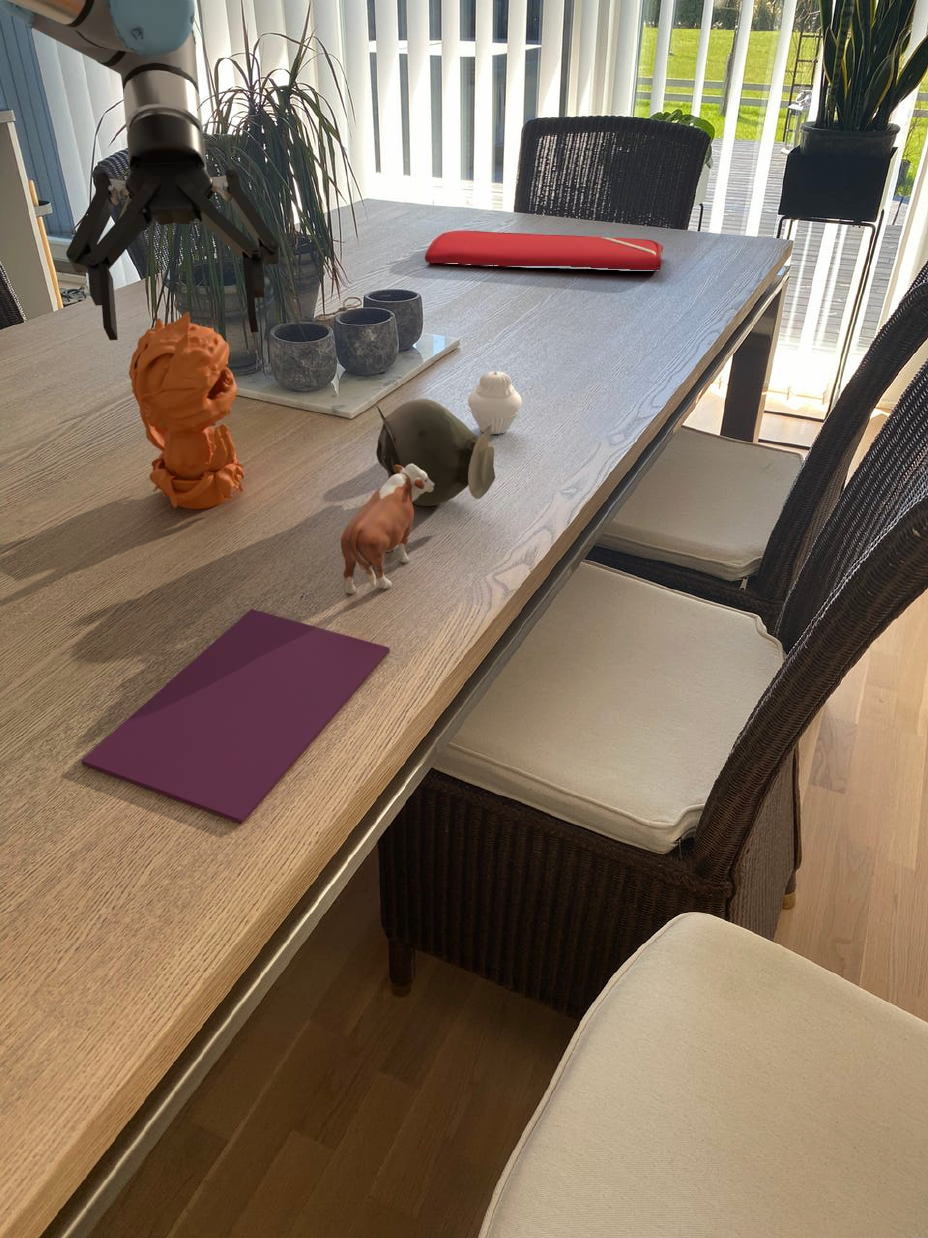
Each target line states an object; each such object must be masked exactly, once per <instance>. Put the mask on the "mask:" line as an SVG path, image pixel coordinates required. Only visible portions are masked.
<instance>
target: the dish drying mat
mask: <svg viewBox="0 0 928 1238" xmlns="http://www.w3.org/2000/svg"><path fill="white" fill-rule="evenodd" d="M663 250H664V245H663V244H660V243H659V242H657V241H656V240H652V239H645V238H629V237H607V236H606V237H605V236H589V235H569V234H567V235H566V234H542V233H541V234H540V233H522V232H521V233H519V232H496V231H480V230H453V231H446V232H443V233H441V234H440V235H438V236H437V237H436V238H435V239H434V240H432V241H431V243H430V245H429V247H428V248H427V250H426V252H425V255H424V261H425V263H427V262H431V263H430V264H434V263H458V264H471V265H493V266H494V265H498V266H571V267H591V268H608V269H630V270H660V271H661V266H662V258H661V252H662V253H663Z"/></svg>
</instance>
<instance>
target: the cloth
mask: <svg viewBox="0 0 928 1238" xmlns="http://www.w3.org/2000/svg"><path fill="white" fill-rule="evenodd" d="M390 651H391V650H390V647H389V646H385V645H381V644H379V643H378V644H377V643H374V642H371V641H367V640H364V639H361V638H357V637H354V636H351V635H346V634H342V633H340V632H336V631H331V630H328V629H324V628H321V627H317V626H314V625H311V624H307V623H304V622H300V621H296V620H293V619H290V618H285V617H283V616H278V615H276V614H272V613H268V612H265V611H261V610H257V609H254V608H250V609H249V610H248V611H247V612H246V613H245V614H244V615H243V616H242V617H241V618H240V619H238V620H237V621H236V622H235V623H233V624H232V626H230V627H229V628H228V629H227V630H226V631H225V632H223V634H222V635H220V636H219V637H218V638H217V639H216V640H215V641H213V642H212V643H211V644H210V645H209V646H208V647H207V648H206V649H205V650H204V651H202V652H201V653H200V654H199V655H198V656H197V657H195V658H194V659H193V660H192V661H191V662H189V664H188V665H187V666H185V667H184V668H183V669H182V670H181V671H180V672H179V673H178V674H176V676H174V677H173V678H172V679H171V680H170V681H168V682H167V684H165V685H164V686H163V687H161V689H160V690H158V692H156V693H155V694H154V695H153V696H152V697H151V698H149V699H148V700H147V701H146V702H145V703H144V704H143V705H142V706H141V707H139V708H138V709H137V710H135V712H134V713H132V714H131V716H129V717H128V718H127V719H126V720H124V722H122V724H120V725H119V726H118V727H117V728H115V730H114V731H112V733H110V734H109V735H108V736H107V737H106V738H104V740H102V741H101V742H100V743H99V744H98V745H97V746H95V748H93V749H92V750H91V751H90V752H89V753H88V754H87V755H85V756H84V757H83V758H82V759H81V760H80V762H81V765H82V766H85V767H88V768H90V769H93V770H96V771H98V772H101V773H104V774H106V775H109V776H112V777H114V778H117V779H120V780H122V781H125V782H128V783H130V784H134V785H136V786H139V787H141V788H144V789H146V790H149V791H152V792H155V793H157V794H159V795H163V796H165V797H168V798H170V799H173V800H176V801H178V802H181V803H184V804H187V805H190V806H192V807H194V808H198V809H200V810H204V811H205V812H208V813H211V814H213V815H215V816H216V815H217V816H219V817H222V818H225V819H227V820H230V821H232V822H235V823H238V824H240V825H243V823H244V822H245V821H246V820H247V819H248V818H249V816H251V814H253V812H254V811H255V810H256V809H257V807H258V806H259V805H260V804H261V803H262V801H263V800H264V799H265V798H266V797H267V796H268V794H269V793H270V792H271V791H272V790H273V789H274V787H275V786H276V785H277V784H278V783H279V781H280V780H281V779H282V778H283V777H284V776H285V774H286V773H287V772H288V771H289V770H290V769H291V767H292V766H293V765H294V764H295V763H296V762H297V761H298V760H299V758H300V757H301V756H302V755H303V753H305V751H306V750H307V749H308V748H309V746H311V744H312V743H313V742H314V740H315V739H316V738H317V737H318V736H319V735H320V733H321V732H322V731H323V730H324V729H325V728H326V726H327V725H328V724H329V723H330V722H331V721H332V719H333V718H334V717H335V716H336V715H337V713H338V712H339V711H340V710H341V709H342V708H343V707H344V706H345V704H346V703H347V702H348V701H349V699H350V698H351V697H352V696H353V695H354V694H355V693H356V692H357V690H358V689H359V688H360V686H361V685H363V683H364V682H365V681H366V679H368V677H370V675H371V674H372V673H373V672H374V670H376V668H377V667H378V666H379V665H380V663H382V662H383V660H384V659H385V657H386V656H387V655H388V654H389V653H390Z"/></svg>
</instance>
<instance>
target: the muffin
mask: <svg viewBox="0 0 928 1238" xmlns="http://www.w3.org/2000/svg"><path fill="white" fill-rule="evenodd" d="M522 402H523V400H522V397H521V395H520V394H519V393H518V391H517V390H515V387H514V385H513V384H512V379H511V377H510V376H509V375H508V374H507V373H505V372H503V371H497V370H495V371H492V370H491V371H488V372H486V373H483V375H482V376H481V377H480V378H479V384H478V385H476V388H475V389H473V390H472V391H471V392H470V393H469V395H468V398H467V404H468V407H469V409H470V413H471V416H472V417H473V419H474V421H475V422H476V424H477V426H478V428H479V430H480V432H482V433H483V432H484V430H485V429H486V428H487V427H488V426H490V425H492V429H491V433H490V435H491V434H499V433H503V434H505V433H507V432H508V431H509V429H510V428H511V426H512V425H513V422H514V421H515V420H516V418H517V416H518V414H519V411H520V408H521V407H522V404H523V403H522ZM507 430H508V431H507ZM506 431H507V432H506ZM504 432H505V433H504ZM499 435H500V434H499Z"/></svg>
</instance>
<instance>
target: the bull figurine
mask: <svg viewBox="0 0 928 1238" xmlns="http://www.w3.org/2000/svg"><path fill="white" fill-rule="evenodd" d="M393 470H394V472H395V473H396V474H395V475H393V476H391V477H390V478H389V479H388V478H387V481H386V482H385V483H384V484H383V485H382V486H381V487H379V488H378V489H376V491H375V492H374V493H373V495H372V496H371V497H370V499H369V500H368V501H366V503H365V504H364V505H363V506H362V507H361V508H360V510H359V511H358V512H357V513H356V515H355V516H354V517H353V518H352V519H351V520H350V522H349V523H347V525H346V526H345V528H344V530H343V533H342V535H341V538H340V549H341V553H342V556H343V557H344V563H345V569H344V571H343V573H342V575H343V578H344V582H345V587H344V593H346V594H349V595H355V594H356V593H357V591H358V589H357V588H356V587H355V585H354V581H353V578H354V574H355V569H356V565H357V564H358V566H359V568H360V569H361V571H365V578H366V579H367V581H368V583H369V584H370V586H371V587H372V588H375V587H376V586H377V581H378V588H379V589H383V590H386V589H387V590H388V589H391V588H392V587H393V583H392V581H391V580H389V579H388V578H387V577H385V574H384V565H383V563H384V559H385V554H386V553H390V552H392V551H393V550H394V549H395V548H396V547H397V546H398V551H397V555H396V561H399V562H401V563H403V564H408V563H410V558H409V556H408V555H407V553H406V547H407V545H408V542H409V536H410V534H411V531H412V524H413V521H414V518H415V509H414V505H413V503H412V501H414V500H416V499H417V498H418V497H419V495H420V494H423V493H424V492H425V491H427V492H432V491H433V489H434V487H433V486H434V485H435V484H434V483H433V482H432V481H431V480H430V479H429V478H428V476H427V474H426V473H425V472H424V471H423V470H421V469H419V468H418V467H417V466H416V465H414V464H409V465H407V466H406V467H405V469H404V468H403V467H402V466H400V465H394V466H393ZM371 566H372V567H371Z"/></svg>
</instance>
